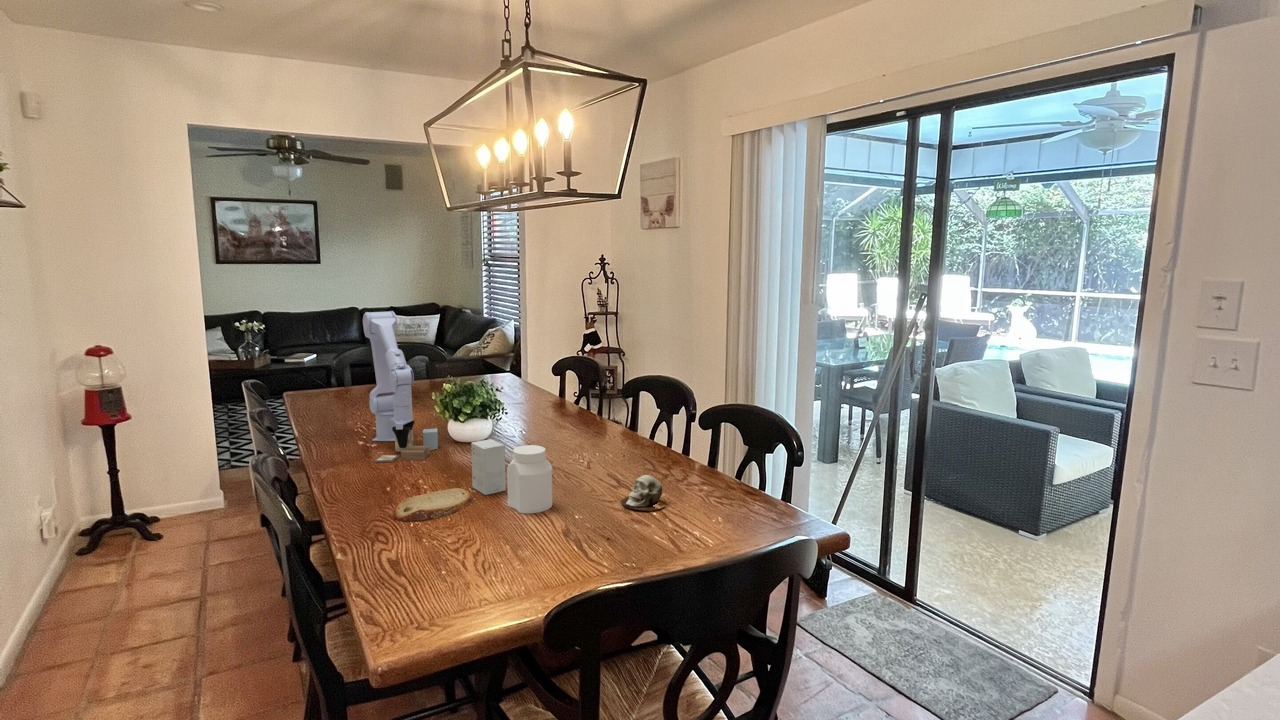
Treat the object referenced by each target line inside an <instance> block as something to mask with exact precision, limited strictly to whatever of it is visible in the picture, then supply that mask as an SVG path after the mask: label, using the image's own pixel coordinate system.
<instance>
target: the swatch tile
mask: <svg viewBox="0 0 1280 720" xmlns="http://www.w3.org/2000/svg"><path fill="white" fill-rule="evenodd" d="M399 458H401V455H392V454H391V455H387V454H385V455H384V454H383V455H380V456H378V457H377V458H376V459H375V460H373V463H382V462H393V463H395V461H397V460H398V459H399Z"/></svg>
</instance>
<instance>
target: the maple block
mask: <svg viewBox="0 0 1280 720" xmlns="http://www.w3.org/2000/svg"><path fill="white" fill-rule="evenodd" d="M394 446H395V447H394V448H395V452H401V451H402V450H403V449H405V448H399V445H398V441H397V438H396V435H395V441H394ZM407 446H415V444H414V430H413V429H412V430H410V431H409V434H408V441H407Z"/></svg>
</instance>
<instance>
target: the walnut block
mask: <svg viewBox="0 0 1280 720" xmlns="http://www.w3.org/2000/svg"><path fill="white" fill-rule="evenodd" d="M430 452H431V450H430V446H423V445H414V446H407V447H406V448H405V449H403V450H402V451H400V460H401V461H425V460H426V459H427V457H429V455H430Z"/></svg>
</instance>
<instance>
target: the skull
mask: <svg viewBox="0 0 1280 720" xmlns="http://www.w3.org/2000/svg"><path fill="white" fill-rule="evenodd" d="M630 490H631V492H630V493H629V494H628V496H625V497H623V498H622V499H621V501H620V503H621V505H623V506H624V507H626V508H627V509H632V510H635V511H636V510H638V511H645V512H655V511H659V509H658V508H657V509H655V507H653V505H655V504H657V503H658V502H659V501H660V500H661V498H662V494H663V485H662V483H661V482H660V481H659V480H658V479H657V478H656V477H654V476H652V475H649V474H644V475H641V476H639V477H638V478H636V479H635V481H634V486H633V487H631V488H630ZM660 510H662V509H661V508H660Z"/></svg>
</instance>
